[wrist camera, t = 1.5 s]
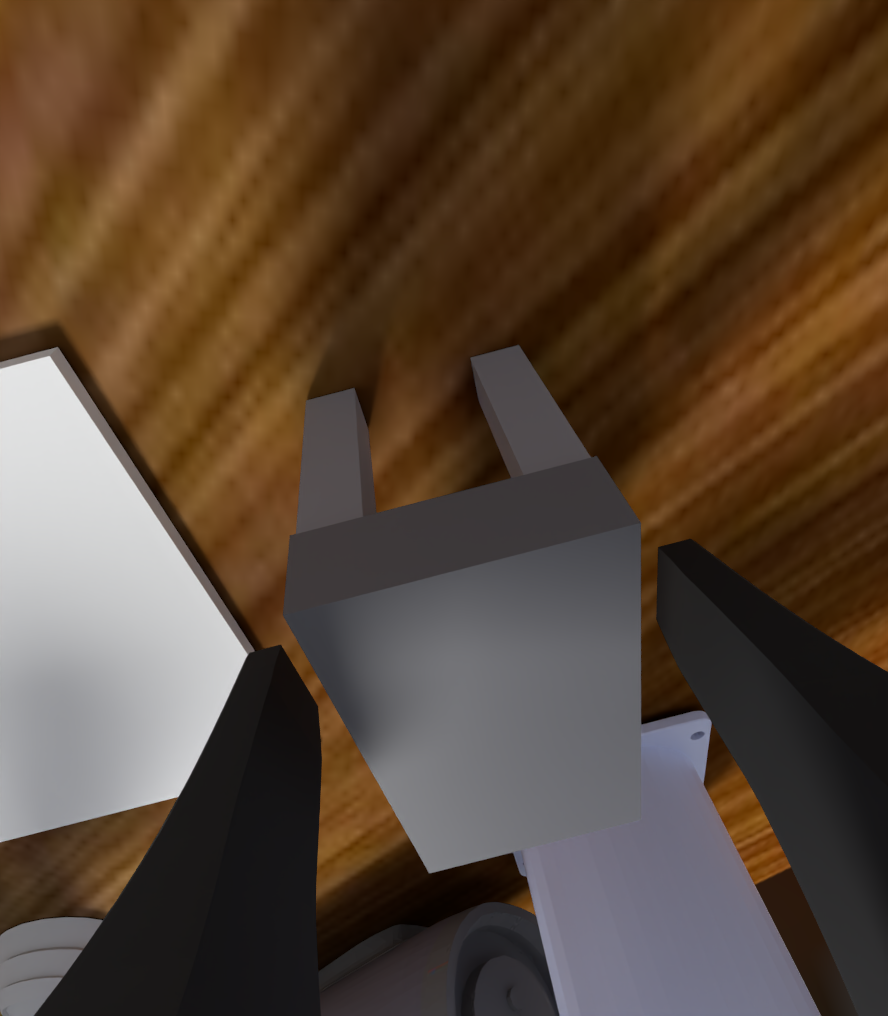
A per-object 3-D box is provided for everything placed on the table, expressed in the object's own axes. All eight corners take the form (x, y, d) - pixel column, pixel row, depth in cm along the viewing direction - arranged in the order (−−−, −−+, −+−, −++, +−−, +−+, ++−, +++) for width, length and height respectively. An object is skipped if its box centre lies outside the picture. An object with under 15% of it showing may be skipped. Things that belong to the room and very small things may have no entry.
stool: (554, 603, 17) (641, 819, 12) (401, 643, 17) (429, 873, 12) (517, 335, 12) (640, 523, 7) (302, 391, 12) (283, 615, 7)
